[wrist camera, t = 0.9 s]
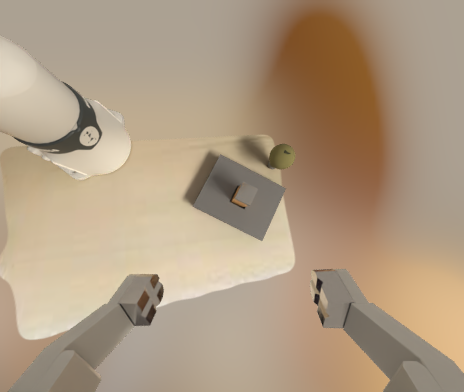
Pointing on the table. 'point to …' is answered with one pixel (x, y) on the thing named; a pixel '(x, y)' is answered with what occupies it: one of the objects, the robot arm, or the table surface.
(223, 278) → the table surface
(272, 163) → the light bulb
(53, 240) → the table surface
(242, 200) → the plug
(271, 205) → the grey block with hole
